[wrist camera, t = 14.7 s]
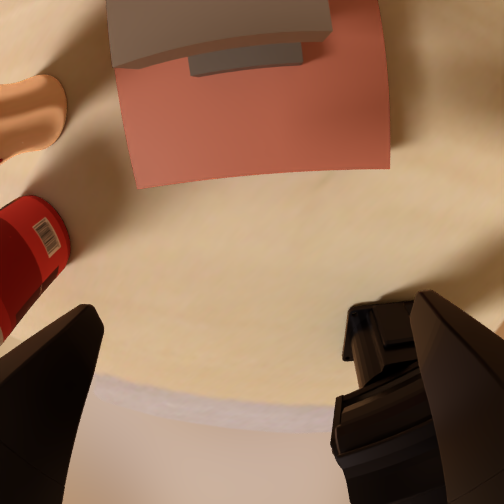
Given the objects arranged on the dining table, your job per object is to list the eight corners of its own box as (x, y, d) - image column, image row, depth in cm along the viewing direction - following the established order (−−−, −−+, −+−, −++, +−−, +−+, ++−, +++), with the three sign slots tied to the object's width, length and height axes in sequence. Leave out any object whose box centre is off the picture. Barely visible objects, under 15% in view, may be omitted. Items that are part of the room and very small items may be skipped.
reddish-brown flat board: (373, 156, 17) (389, 169, 14) (156, 174, 19) (137, 189, 16) (338, -84, 8) (346, -105, 5) (127, -55, 10) (108, -69, 7)
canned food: (17, 177, 19) (-75, 238, 10) (81, 220, 21) (-9, 307, 11) (11, 242, 23) (-58, 308, 13) (67, 283, 24) (4, 366, 15)
